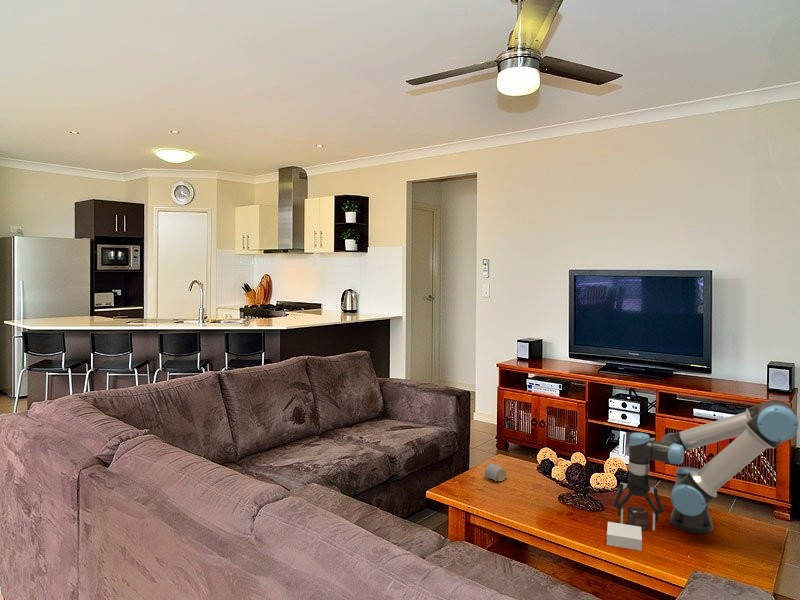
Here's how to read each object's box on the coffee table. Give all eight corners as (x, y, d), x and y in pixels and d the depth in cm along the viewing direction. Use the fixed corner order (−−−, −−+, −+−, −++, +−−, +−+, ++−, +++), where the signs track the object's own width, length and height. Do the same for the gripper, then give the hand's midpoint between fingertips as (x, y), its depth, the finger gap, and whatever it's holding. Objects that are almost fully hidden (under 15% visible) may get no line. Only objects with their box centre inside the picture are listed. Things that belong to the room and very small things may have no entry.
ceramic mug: (497, 484, 269) (497, 468, 269) (484, 479, 275) (484, 464, 275) (511, 480, 276) (511, 464, 276) (498, 475, 282) (499, 460, 282)
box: (641, 524, 226) (642, 506, 226) (648, 530, 220) (649, 512, 220) (626, 524, 226) (627, 506, 226) (633, 530, 220) (633, 512, 220)
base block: (640, 537, 214) (641, 526, 214) (641, 550, 203) (641, 540, 203) (607, 531, 219) (607, 521, 219) (606, 544, 208) (606, 534, 208)
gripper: (670, 473, 222) (669, 527, 222) (607, 465, 230) (606, 518, 231) (672, 479, 215) (670, 535, 215) (607, 471, 223) (605, 525, 224)
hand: (637, 526), depth 223 cm, fingers open, 11 cm apart
